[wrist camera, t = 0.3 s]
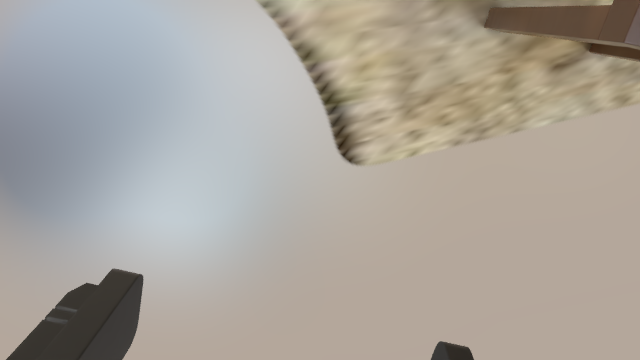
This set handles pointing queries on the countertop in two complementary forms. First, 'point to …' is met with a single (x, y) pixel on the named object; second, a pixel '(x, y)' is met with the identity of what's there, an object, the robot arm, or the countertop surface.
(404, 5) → the countertop surface
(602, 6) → the pan stand
